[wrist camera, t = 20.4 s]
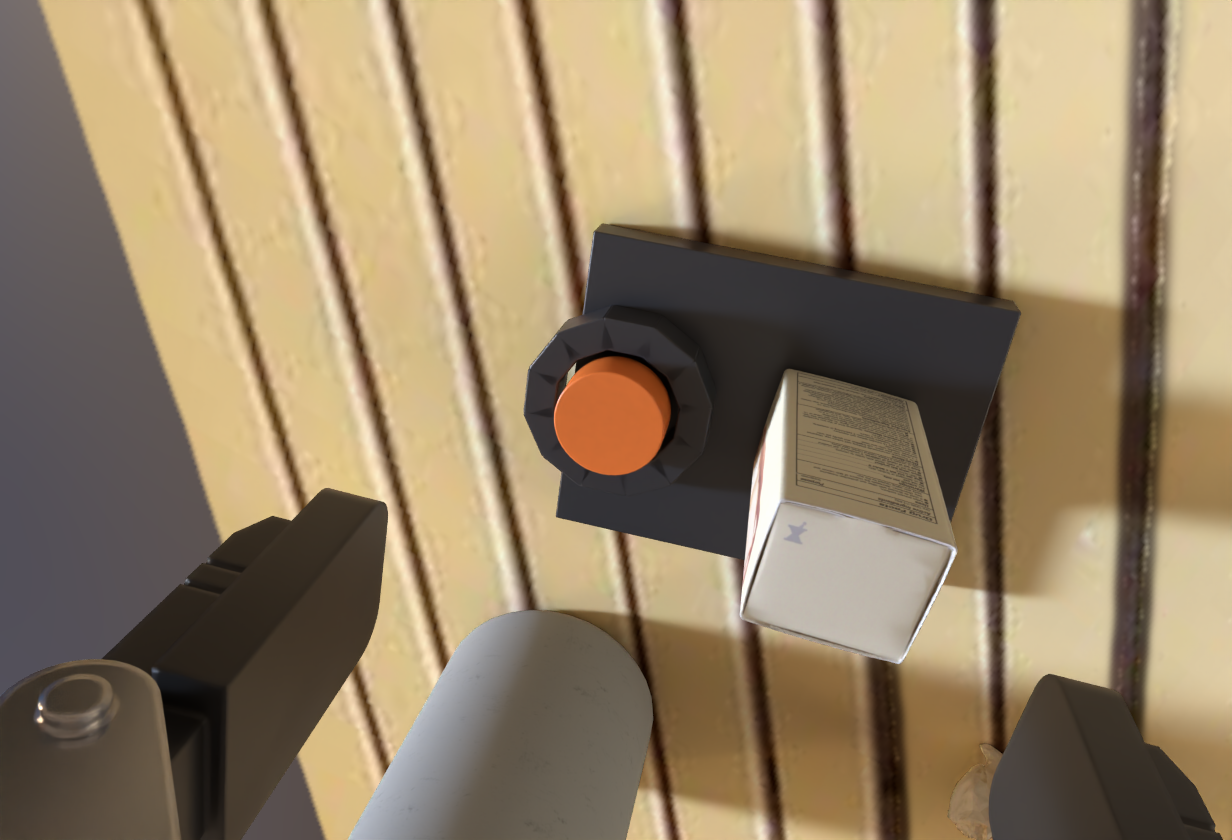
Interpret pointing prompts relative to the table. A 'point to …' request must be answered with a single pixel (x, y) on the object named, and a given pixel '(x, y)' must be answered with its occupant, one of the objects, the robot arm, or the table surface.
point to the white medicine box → (844, 519)
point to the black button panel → (755, 371)
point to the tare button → (613, 415)
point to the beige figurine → (975, 797)
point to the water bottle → (521, 740)
